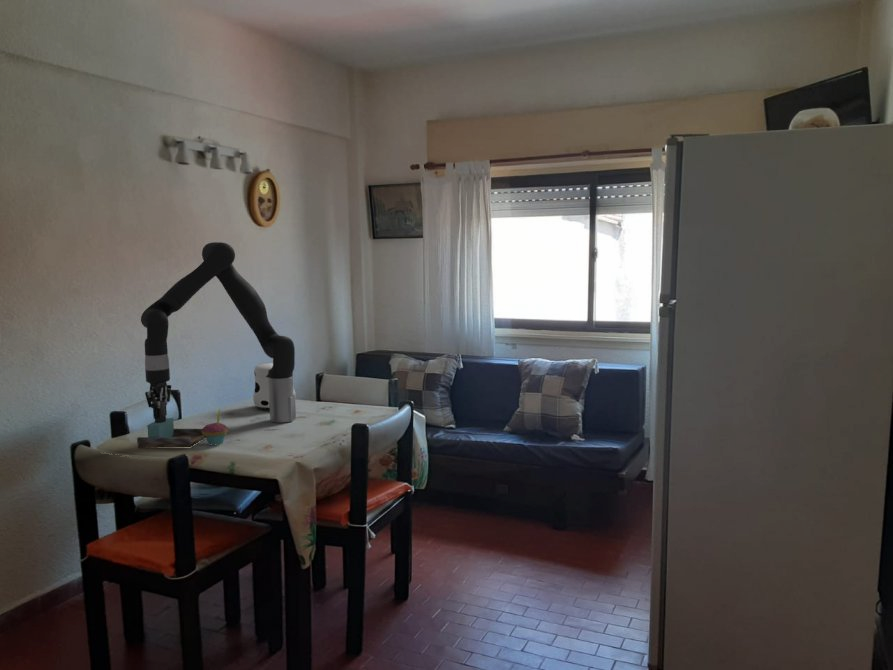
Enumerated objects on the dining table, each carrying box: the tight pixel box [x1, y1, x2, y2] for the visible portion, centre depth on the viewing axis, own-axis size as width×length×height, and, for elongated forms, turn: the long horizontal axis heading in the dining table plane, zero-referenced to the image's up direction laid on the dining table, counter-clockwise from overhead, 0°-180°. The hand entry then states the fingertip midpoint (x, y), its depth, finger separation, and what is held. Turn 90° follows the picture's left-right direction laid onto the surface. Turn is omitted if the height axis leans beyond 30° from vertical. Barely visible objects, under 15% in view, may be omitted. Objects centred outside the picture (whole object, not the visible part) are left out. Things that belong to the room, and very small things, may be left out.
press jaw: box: [147, 400, 175, 438], centre depth 225 cm, size 4×10×13 cm, turn 177°
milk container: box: [252, 362, 296, 411], centre depth 279 cm, size 17×17×18 cm
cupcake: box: [201, 409, 229, 446], centre depth 225 cm, size 9×8×12 cm
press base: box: [136, 428, 206, 449], centre depth 226 cm, size 18×13×4 cm
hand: (160, 417), depth 225 cm, fingers closed on press jaw, 3 cm apart
